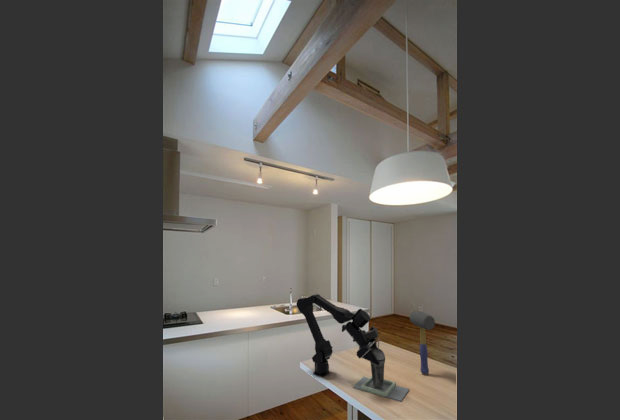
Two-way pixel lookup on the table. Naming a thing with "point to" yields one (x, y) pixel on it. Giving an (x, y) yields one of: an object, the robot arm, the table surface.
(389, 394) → the socket board
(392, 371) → the table surface
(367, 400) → the table surface
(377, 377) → the beverage cup
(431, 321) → the rubber mallet
